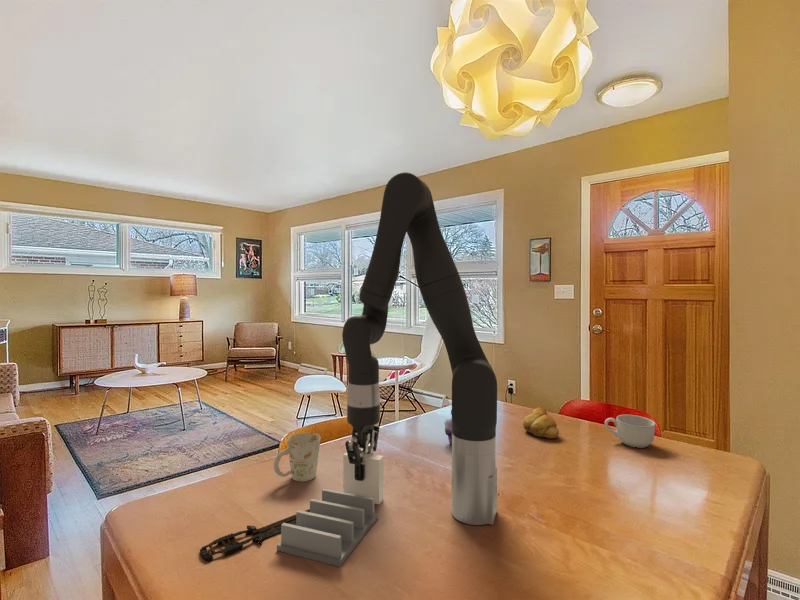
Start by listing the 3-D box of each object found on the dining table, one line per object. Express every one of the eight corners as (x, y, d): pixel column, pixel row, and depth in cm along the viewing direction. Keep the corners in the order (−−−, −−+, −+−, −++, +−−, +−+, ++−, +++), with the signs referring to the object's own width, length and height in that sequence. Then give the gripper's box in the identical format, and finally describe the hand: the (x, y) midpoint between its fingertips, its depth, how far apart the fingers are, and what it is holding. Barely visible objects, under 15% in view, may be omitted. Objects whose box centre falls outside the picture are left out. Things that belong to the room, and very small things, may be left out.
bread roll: (565, 439, 134) (566, 415, 134) (540, 442, 132) (540, 417, 132) (541, 427, 147) (541, 405, 147) (517, 430, 144) (517, 407, 144)
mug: (326, 476, 106) (327, 437, 106) (283, 493, 97) (283, 451, 97) (308, 467, 112) (308, 430, 112) (265, 482, 103) (265, 442, 103)
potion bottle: (441, 439, 134) (441, 402, 134) (467, 438, 135) (467, 402, 135) (447, 449, 125) (447, 410, 125) (474, 448, 126) (475, 409, 126)
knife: (322, 508, 92) (322, 502, 92) (335, 521, 86) (335, 514, 86) (197, 549, 77) (197, 541, 77) (204, 567, 71) (204, 559, 71)
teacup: (655, 442, 132) (655, 417, 132) (654, 453, 123) (654, 426, 123) (606, 434, 139) (606, 411, 139) (602, 444, 130) (603, 419, 130)
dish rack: (323, 507, 91) (323, 487, 91) (377, 518, 86) (377, 497, 86) (276, 550, 75) (276, 526, 75) (339, 566, 71) (339, 540, 71)
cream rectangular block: (348, 492, 98) (348, 450, 98) (383, 499, 95) (383, 456, 95) (343, 497, 95) (343, 454, 95) (379, 504, 92) (379, 460, 92)
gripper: (365, 411, 87) (365, 492, 87) (389, 396, 100) (389, 466, 100) (333, 408, 89) (333, 487, 90) (361, 393, 103) (361, 462, 103)
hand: (363, 475), depth 95 cm, fingers open, 3 cm apart
